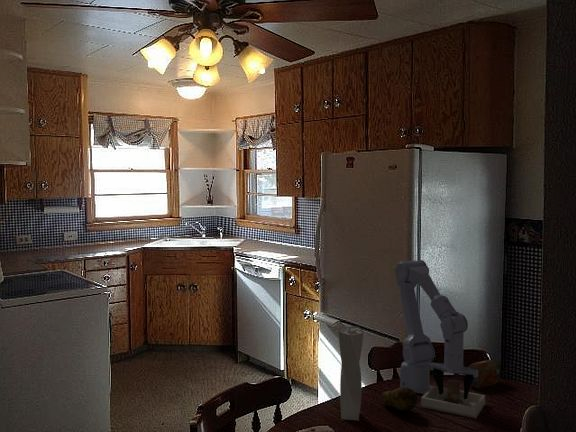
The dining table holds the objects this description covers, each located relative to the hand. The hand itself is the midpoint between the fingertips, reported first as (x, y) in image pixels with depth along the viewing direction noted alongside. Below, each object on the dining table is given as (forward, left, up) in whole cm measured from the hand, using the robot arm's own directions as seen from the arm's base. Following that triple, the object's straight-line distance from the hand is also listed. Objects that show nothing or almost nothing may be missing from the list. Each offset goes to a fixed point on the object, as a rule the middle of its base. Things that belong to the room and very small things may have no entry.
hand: (453, 395), depth 168 cm
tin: (+4, +24, -3) cm, 25 cm away
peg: (0, 0, -3) cm, 3 cm away
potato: (-13, -12, -3) cm, 18 cm away
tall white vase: (-24, -24, -3) cm, 34 cm away
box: (0, 0, -3) cm, 3 cm away
